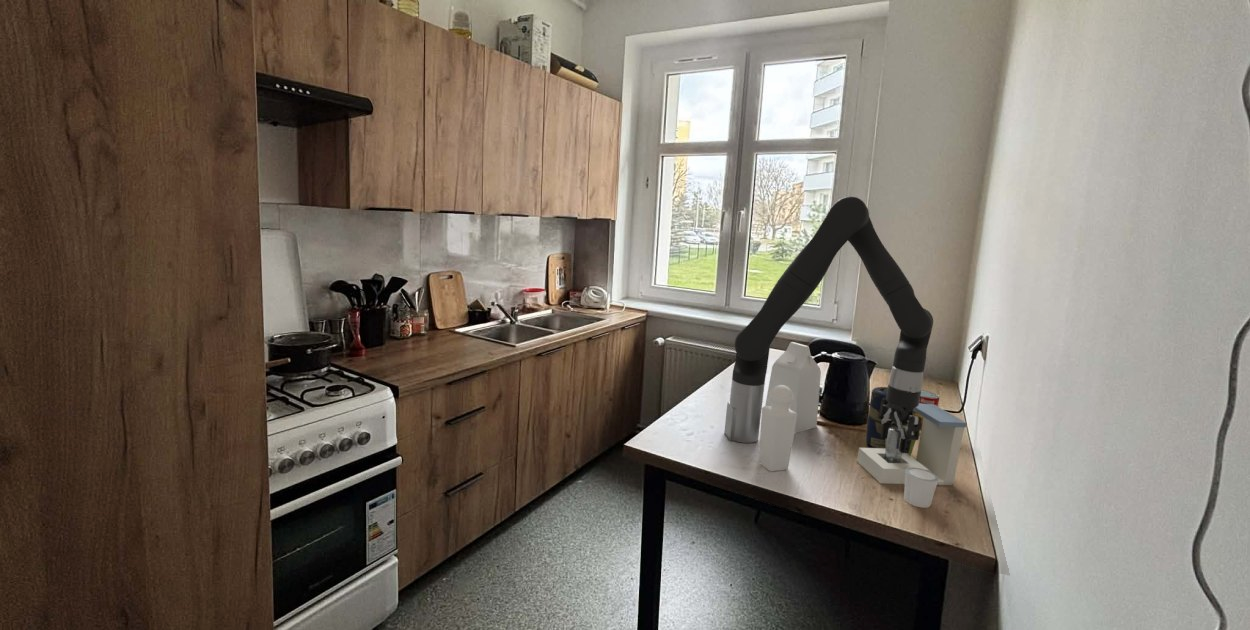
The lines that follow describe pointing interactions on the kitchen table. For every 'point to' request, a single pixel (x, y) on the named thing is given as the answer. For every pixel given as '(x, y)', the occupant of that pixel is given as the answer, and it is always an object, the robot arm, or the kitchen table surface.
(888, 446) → the peg
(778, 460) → the white square bottle
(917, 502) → the white tapered cup
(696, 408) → the kitchen table surface
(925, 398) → the canned food
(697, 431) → the kitchen table surface
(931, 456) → the socket station
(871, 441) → the canister
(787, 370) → the milk
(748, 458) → the kitchen table surface
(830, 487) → the kitchen table surface
